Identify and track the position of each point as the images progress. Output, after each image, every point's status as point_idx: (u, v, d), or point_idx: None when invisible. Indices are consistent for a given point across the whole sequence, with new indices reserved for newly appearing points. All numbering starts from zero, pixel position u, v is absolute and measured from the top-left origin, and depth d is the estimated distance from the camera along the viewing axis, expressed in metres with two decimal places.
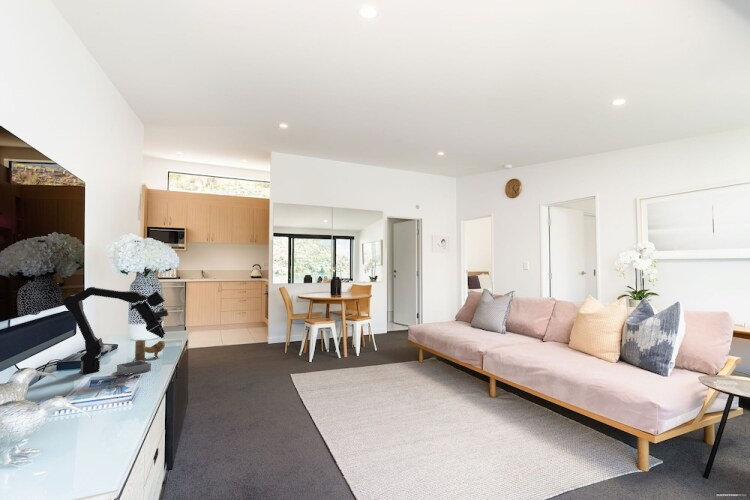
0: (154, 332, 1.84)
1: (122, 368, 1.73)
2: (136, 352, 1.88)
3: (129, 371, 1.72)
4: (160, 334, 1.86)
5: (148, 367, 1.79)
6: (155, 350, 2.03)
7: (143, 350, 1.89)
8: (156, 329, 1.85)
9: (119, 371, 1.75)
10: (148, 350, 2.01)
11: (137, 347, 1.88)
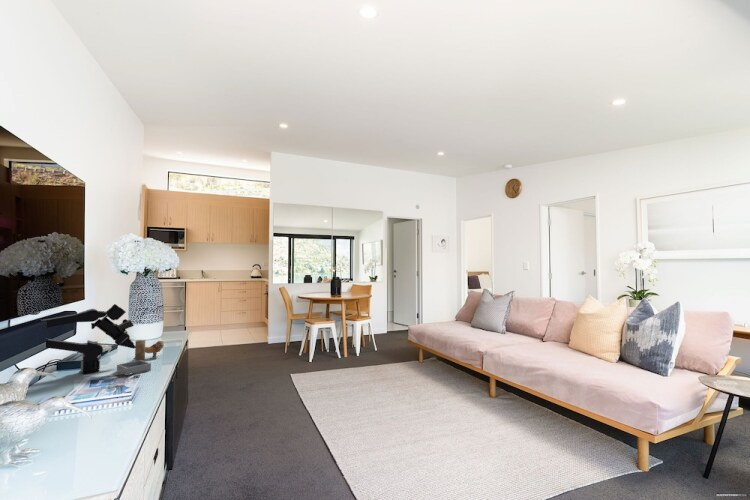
0: (125, 345, 1.81)
1: (122, 368, 1.73)
2: (136, 352, 1.88)
3: (129, 371, 1.72)
4: (131, 345, 1.83)
5: (148, 367, 1.79)
6: (154, 350, 2.03)
7: (143, 350, 1.89)
8: (126, 341, 1.81)
9: (119, 371, 1.75)
10: (147, 350, 2.01)
11: (137, 347, 1.88)
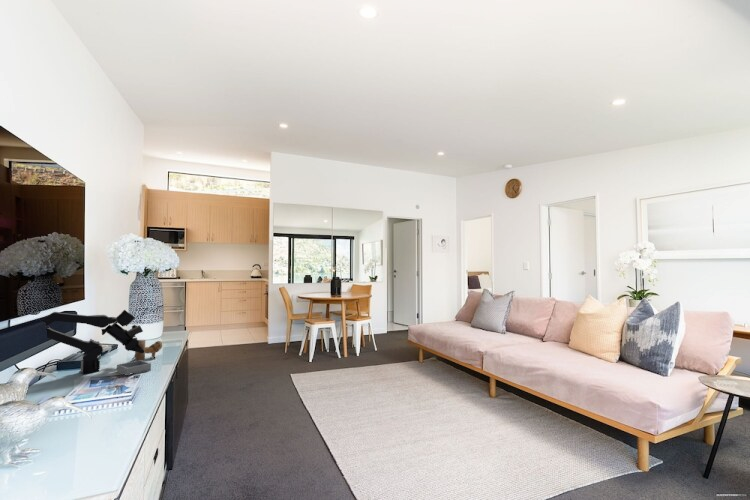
0: (134, 349, 1.85)
1: (122, 368, 1.73)
2: (136, 352, 1.88)
3: (129, 371, 1.72)
4: (140, 350, 1.87)
5: (148, 367, 1.79)
6: (152, 350, 2.02)
7: None
8: (135, 346, 1.86)
9: (119, 371, 1.75)
10: (145, 350, 2.01)
11: None
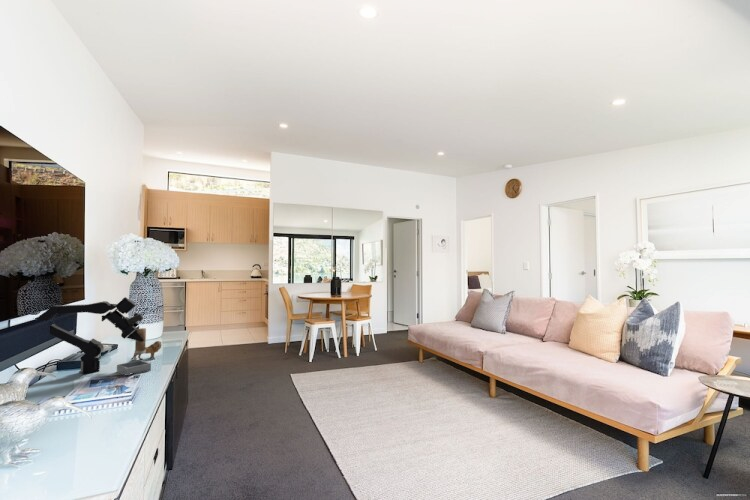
0: (132, 337, 1.82)
1: (122, 368, 1.73)
2: (136, 340, 1.85)
3: (129, 371, 1.72)
4: (139, 338, 1.84)
5: (148, 367, 1.79)
6: (152, 350, 2.02)
7: None
8: (134, 334, 1.82)
9: (119, 371, 1.75)
10: None
11: None
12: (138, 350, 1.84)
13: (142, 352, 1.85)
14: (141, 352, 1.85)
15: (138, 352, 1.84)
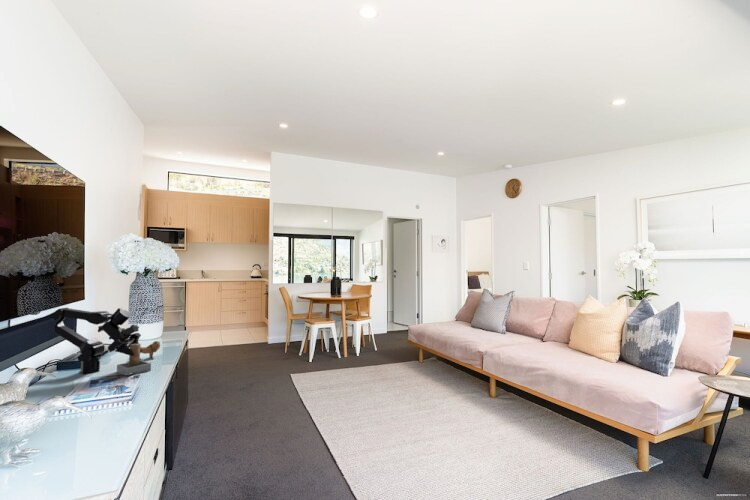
0: (122, 351, 1.73)
1: (122, 368, 1.73)
2: (129, 356, 1.77)
3: (129, 371, 1.72)
4: (129, 352, 1.74)
5: (148, 367, 1.79)
6: (150, 350, 2.02)
7: (135, 355, 1.77)
8: (123, 348, 1.73)
9: (119, 371, 1.75)
10: (143, 351, 2.00)
11: None
12: None
13: None
14: None
15: None
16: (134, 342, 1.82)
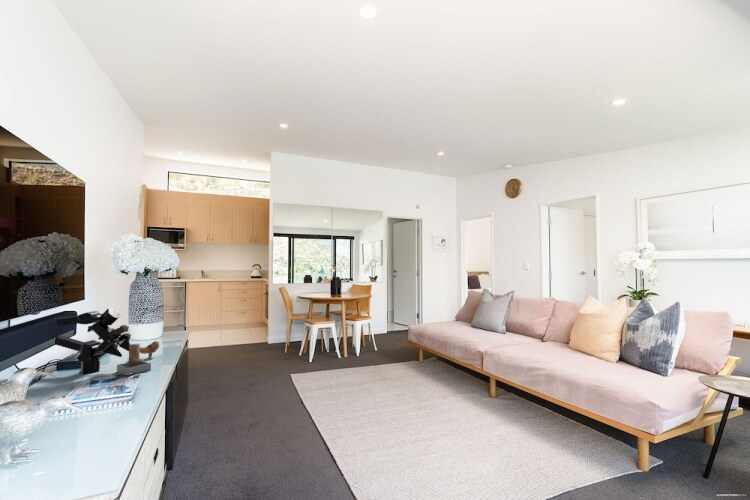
0: (109, 352, 1.71)
1: (122, 368, 1.73)
2: (129, 356, 1.77)
3: (129, 371, 1.72)
4: (117, 353, 1.72)
5: (148, 367, 1.79)
6: (149, 351, 2.01)
7: (135, 355, 1.77)
8: (111, 348, 1.72)
9: (119, 371, 1.75)
10: (142, 351, 2.00)
11: (129, 351, 1.76)
12: None
13: None
14: None
15: None
16: (125, 342, 1.83)
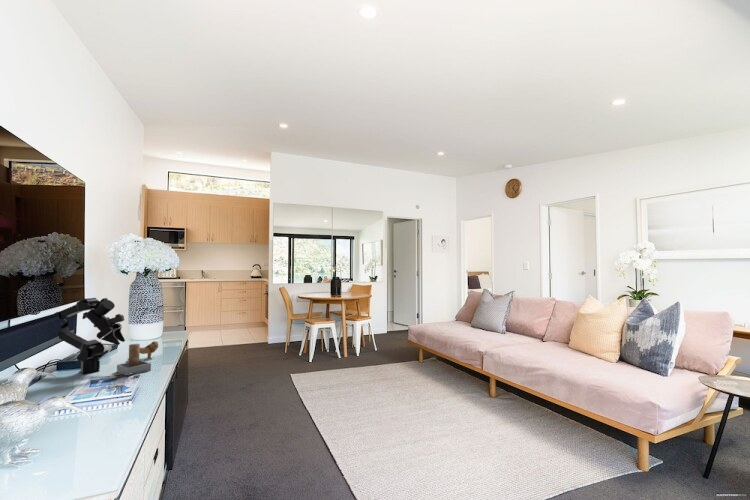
0: (108, 340, 1.73)
1: (122, 368, 1.73)
2: (129, 356, 1.77)
3: (129, 371, 1.72)
4: (115, 341, 1.75)
5: (148, 367, 1.79)
6: (149, 351, 2.01)
7: (135, 355, 1.77)
8: (110, 336, 1.74)
9: (119, 371, 1.75)
10: (141, 351, 2.00)
11: (129, 351, 1.76)
12: None
13: None
14: None
15: None
16: (117, 331, 1.84)
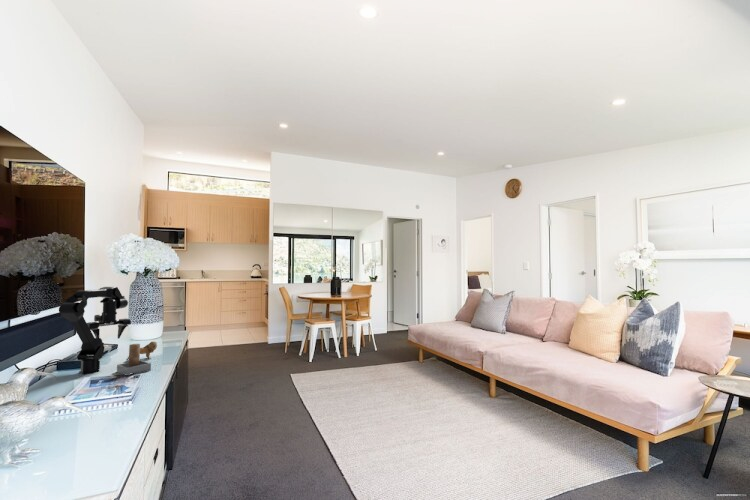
0: None
1: (122, 368, 1.73)
2: (129, 356, 1.77)
3: (129, 371, 1.72)
4: None
5: (148, 367, 1.79)
6: (147, 351, 2.01)
7: (135, 355, 1.77)
8: None
9: (119, 371, 1.75)
10: (140, 351, 1.99)
11: (129, 351, 1.76)
12: None
13: None
14: None
15: None
16: None
